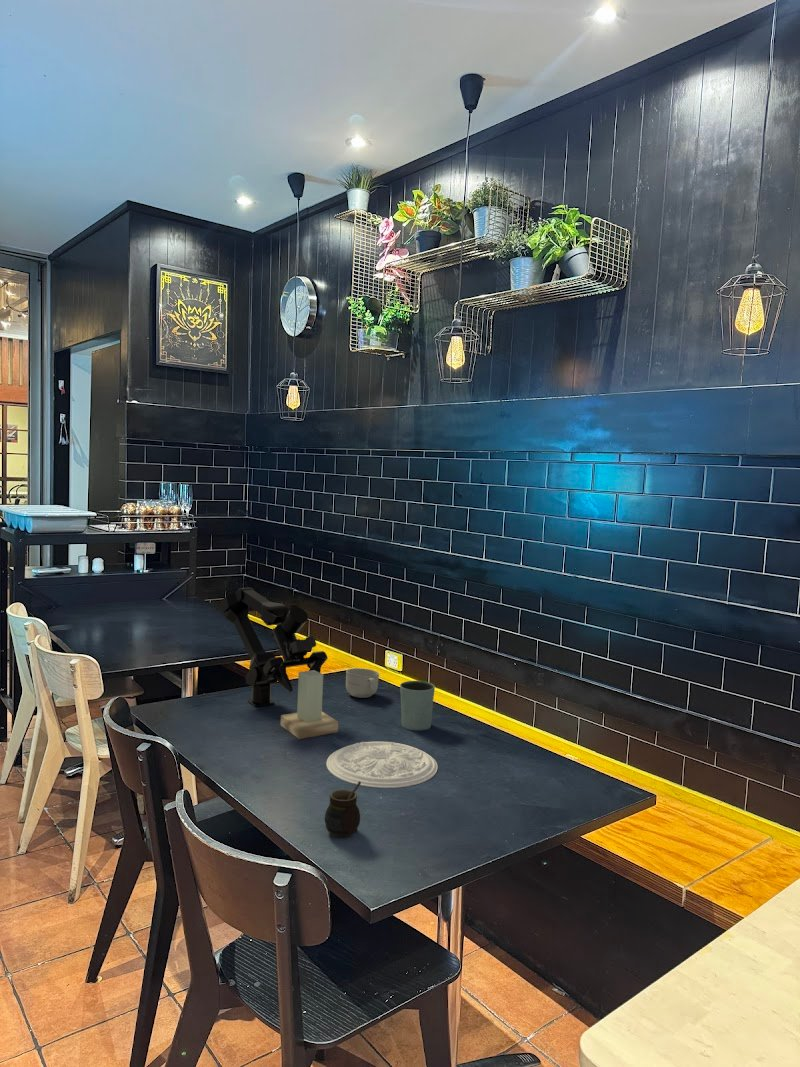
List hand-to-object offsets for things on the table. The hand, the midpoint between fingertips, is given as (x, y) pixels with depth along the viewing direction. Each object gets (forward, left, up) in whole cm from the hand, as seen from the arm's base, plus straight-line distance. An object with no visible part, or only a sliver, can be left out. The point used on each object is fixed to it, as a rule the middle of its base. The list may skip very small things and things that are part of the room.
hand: (305, 688), depth 215 cm
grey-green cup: (+14, +29, -11) cm, 34 cm away
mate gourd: (+60, -21, -11) cm, 64 cm away
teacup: (-16, +29, -11) cm, 35 cm away
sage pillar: (+2, 0, -8) cm, 8 cm away
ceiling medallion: (+34, +5, -12) cm, 36 cm away
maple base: (+3, 0, -11) cm, 11 cm away
